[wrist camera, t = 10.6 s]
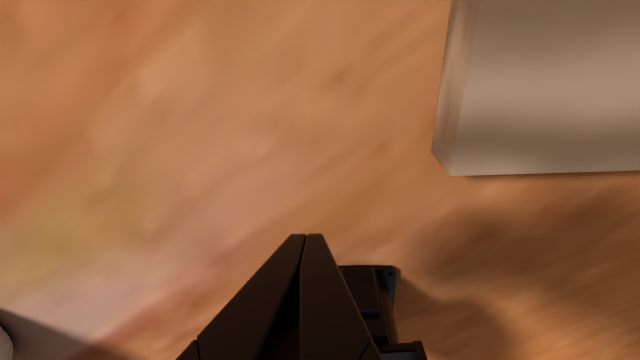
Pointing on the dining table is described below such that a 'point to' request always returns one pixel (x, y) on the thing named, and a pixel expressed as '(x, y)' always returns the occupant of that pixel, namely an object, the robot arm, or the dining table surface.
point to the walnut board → (539, 87)
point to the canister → (5, 346)
